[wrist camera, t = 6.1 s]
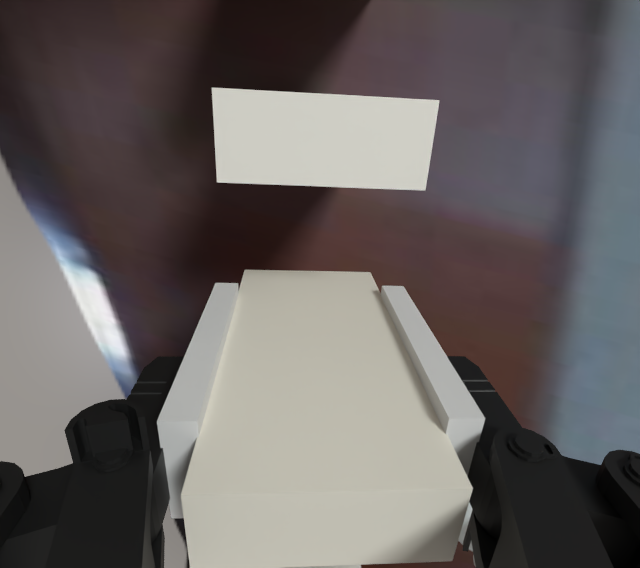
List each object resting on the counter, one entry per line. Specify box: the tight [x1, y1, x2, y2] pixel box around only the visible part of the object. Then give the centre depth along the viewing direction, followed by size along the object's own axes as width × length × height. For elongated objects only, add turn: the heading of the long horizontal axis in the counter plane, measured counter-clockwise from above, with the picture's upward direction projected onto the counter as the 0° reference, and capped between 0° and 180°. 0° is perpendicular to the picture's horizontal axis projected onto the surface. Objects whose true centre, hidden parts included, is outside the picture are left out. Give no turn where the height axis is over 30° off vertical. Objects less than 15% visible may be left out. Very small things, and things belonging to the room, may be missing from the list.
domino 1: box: [212, 88, 439, 190], centre depth 14 cm, size 2×5×10 cm, turn 87°
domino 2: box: [181, 270, 473, 568], centre depth 12 cm, size 2×5×10 cm, turn 87°
